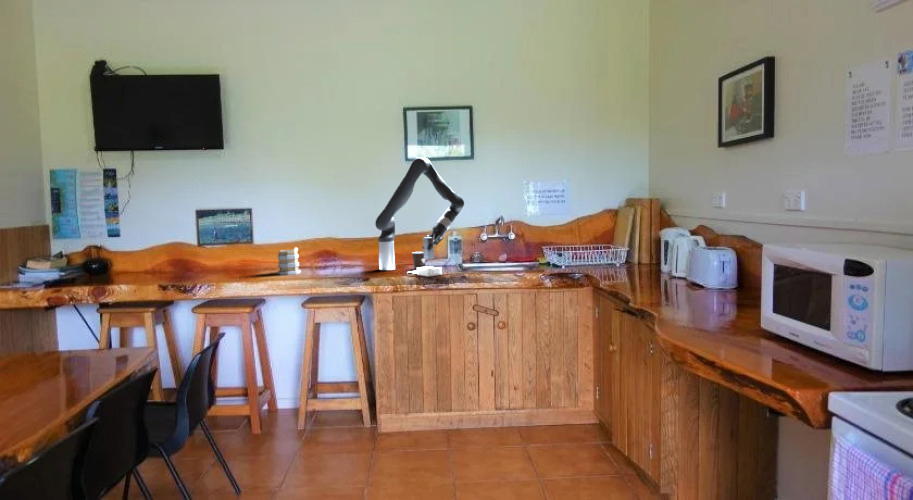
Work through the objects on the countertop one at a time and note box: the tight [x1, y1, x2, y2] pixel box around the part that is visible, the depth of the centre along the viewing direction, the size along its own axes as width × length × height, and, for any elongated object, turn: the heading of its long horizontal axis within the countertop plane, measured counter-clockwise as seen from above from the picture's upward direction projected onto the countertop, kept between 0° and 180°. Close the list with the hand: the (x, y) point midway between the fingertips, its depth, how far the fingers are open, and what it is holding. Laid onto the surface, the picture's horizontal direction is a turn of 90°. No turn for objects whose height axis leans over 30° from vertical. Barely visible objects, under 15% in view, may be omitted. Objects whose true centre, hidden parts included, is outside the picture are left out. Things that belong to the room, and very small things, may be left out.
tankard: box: [276, 246, 302, 276], centre depth 354 cm, size 20×13×15 cm, turn 168°
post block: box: [407, 265, 443, 278], centre depth 329 cm, size 20×10×4 cm, turn 39°
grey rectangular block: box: [422, 236, 435, 261], centre depth 324 cm, size 4×4×12 cm
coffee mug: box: [412, 251, 428, 270], centre depth 354 cm, size 12×9×10 cm
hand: (425, 249), depth 323 cm, fingers closed on grey rectangular block, 4 cm apart
